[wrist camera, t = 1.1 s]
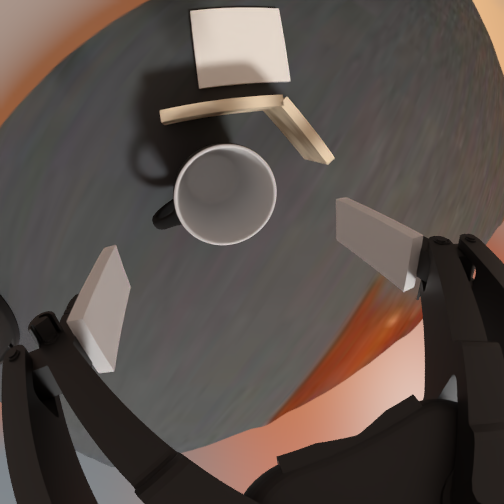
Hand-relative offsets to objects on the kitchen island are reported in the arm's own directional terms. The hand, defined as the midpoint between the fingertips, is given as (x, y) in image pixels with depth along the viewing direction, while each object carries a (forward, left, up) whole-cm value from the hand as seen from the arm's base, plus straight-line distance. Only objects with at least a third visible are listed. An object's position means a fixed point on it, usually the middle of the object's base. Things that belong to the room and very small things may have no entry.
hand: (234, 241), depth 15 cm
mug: (0, 0, -19) cm, 19 cm away
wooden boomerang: (+6, +5, -18) cm, 20 cm away
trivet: (+7, +17, -18) cm, 26 cm away
